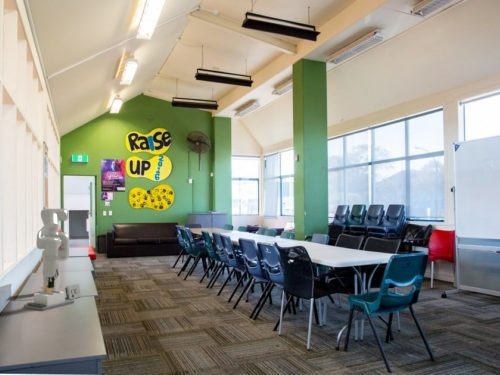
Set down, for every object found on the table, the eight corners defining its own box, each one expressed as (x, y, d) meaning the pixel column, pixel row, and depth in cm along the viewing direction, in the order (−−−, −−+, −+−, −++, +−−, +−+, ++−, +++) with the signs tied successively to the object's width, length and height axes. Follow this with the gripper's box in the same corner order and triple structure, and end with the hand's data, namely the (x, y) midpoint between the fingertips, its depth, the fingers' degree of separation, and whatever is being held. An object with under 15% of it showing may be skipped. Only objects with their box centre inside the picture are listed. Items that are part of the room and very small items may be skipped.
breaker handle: (44, 292, 252) (44, 284, 252) (49, 291, 255) (49, 283, 255) (46, 293, 251) (46, 284, 251) (51, 292, 254) (51, 284, 254)
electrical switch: (69, 300, 265) (69, 285, 265) (64, 300, 267) (63, 286, 268) (81, 297, 273) (81, 283, 274) (76, 297, 275) (75, 283, 276)
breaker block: (23, 307, 247) (23, 292, 247) (54, 299, 266) (54, 286, 266) (43, 310, 238) (43, 295, 238) (74, 303, 257) (74, 289, 257)
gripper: (38, 258, 253) (37, 287, 252) (53, 259, 246) (53, 290, 245) (49, 256, 259) (48, 285, 258) (64, 258, 252) (64, 287, 252)
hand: (51, 287), depth 252 cm, fingers closed
